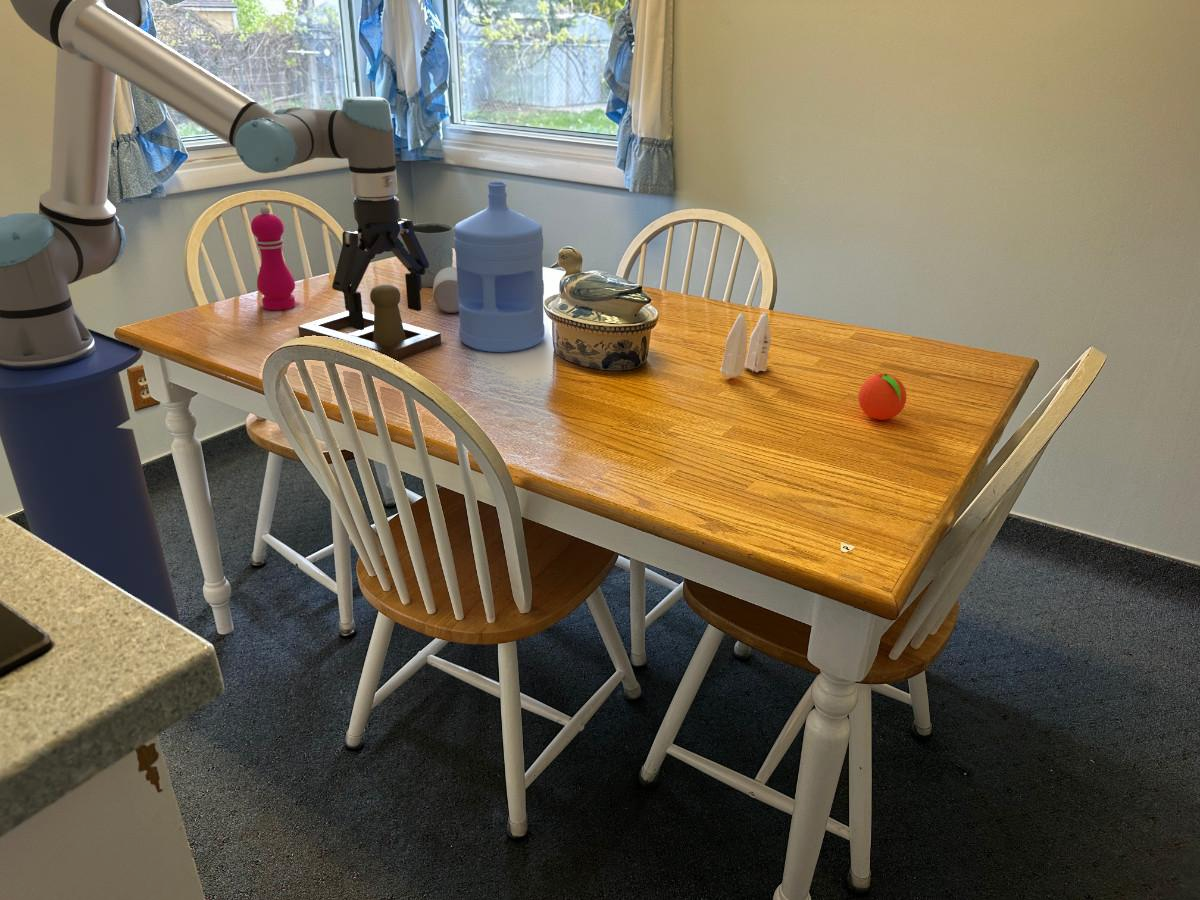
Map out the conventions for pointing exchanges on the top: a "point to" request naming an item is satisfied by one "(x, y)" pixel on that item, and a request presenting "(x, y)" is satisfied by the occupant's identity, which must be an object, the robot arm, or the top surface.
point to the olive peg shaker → (387, 315)
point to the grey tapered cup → (435, 248)
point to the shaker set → (738, 346)
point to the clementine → (882, 396)
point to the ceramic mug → (446, 290)
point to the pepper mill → (272, 262)
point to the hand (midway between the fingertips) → (387, 318)
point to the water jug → (499, 277)
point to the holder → (413, 344)
